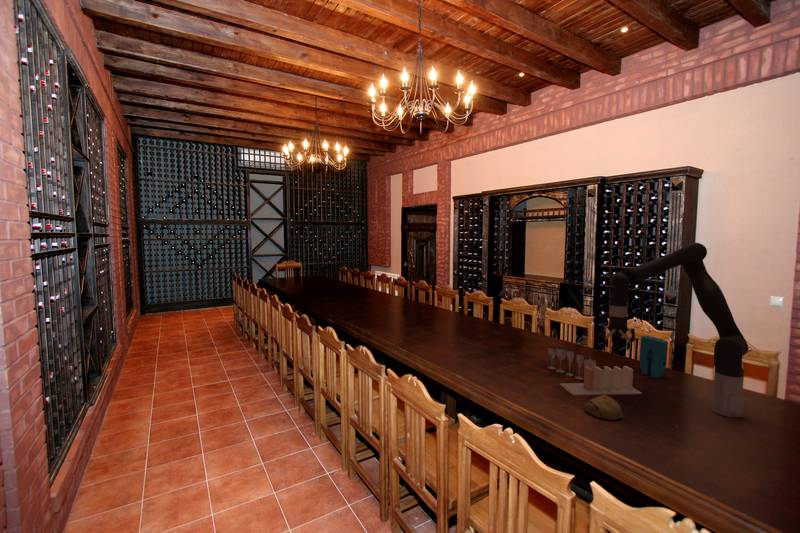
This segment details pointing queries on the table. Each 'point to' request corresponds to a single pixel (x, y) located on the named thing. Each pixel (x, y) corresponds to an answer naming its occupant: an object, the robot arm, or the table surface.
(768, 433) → the table surface
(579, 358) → the goblet set
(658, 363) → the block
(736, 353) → the robot arm
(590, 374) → the terracotta domino
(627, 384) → the ivory domino
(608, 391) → the grey rubber mat
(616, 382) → the ivory domino
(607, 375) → the ivory domino
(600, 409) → the pastry
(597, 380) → the ivory domino
